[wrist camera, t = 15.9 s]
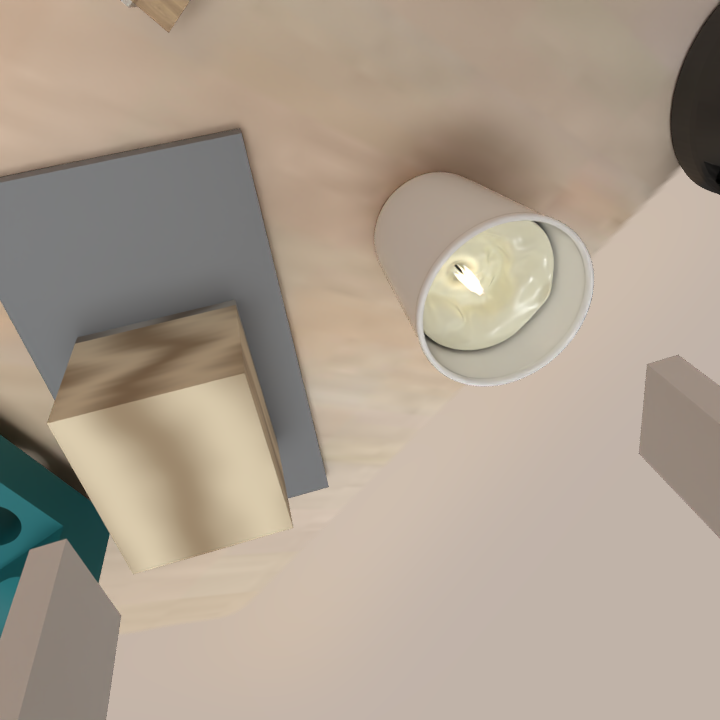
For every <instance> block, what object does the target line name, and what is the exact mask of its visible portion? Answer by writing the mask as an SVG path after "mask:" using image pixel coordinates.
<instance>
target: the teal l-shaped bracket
mask: <svg viewBox="0 0 720 720" xmlns="http://www.w3.org/2000/svg"><path fill="white" fill-rule="evenodd" d="M109 534H110V533H109V531H108V529H107V528H106V526H105V524H104V522H103V521H102V519H101V517H100V515H99V514H98V512H97V510H96V508H95V507H94V505H93V503H92V502H91V501H90V500H88V499H87V498H86V497H84V496H83V495H82V494H80V493H79V492H78V491H76V490H75V489H74V488H72V487H71V486H69V485H68V484H67V483H65V482H64V481H63V480H61V479H60V478H59V477H57V476H56V475H54V474H53V473H52V472H50V471H49V470H48V469H46V468H45V467H44V466H42V465H41V464H40V463H38V462H37V461H35V460H34V459H33V458H31V457H30V456H29V455H27V454H26V453H25V452H23V451H22V450H21V449H19V448H18V447H16V446H15V445H14V444H12V443H11V442H10V441H8V440H7V439H6V438H4V437H3V436H2V435H0V638H1V635H2V632H3V629H4V626H5V623H6V620H7V617H8V614H9V611H10V608H11V604H12V601H13V598H14V595H15V592H16V589H17V586H18V583H19V580H20V577H21V574H22V571H23V568H24V565H25V562H26V559H27V556H28V553H29V550H30V549H34V548H37V547H40V546H44V545H47V544H50V543H54V542H57V541H60V540H64V539H67V540H68V541H69V543H70V544H71V546H72V547H73V549H74V550H75V551H76V553H77V554H78V556H79V557H80V558H81V560H82V561H83V563H84V564H85V565H86V567H87V568H88V570H89V571H90V572H91V574H92V575H93V577H94V578H95V580H96V581H97V582H98V583H99V578H100V574H101V569H102V565H103V561H104V556H105V552H106V547H107V543H108V539H109Z"/></svg>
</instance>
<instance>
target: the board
mask: <svg viewBox="0 0 720 720" xmlns="http://www.w3.org/2000/svg"><path fill="white" fill-rule="evenodd" d="M231 300H235V301H236V305H237V308H238V311H239V315H240V318H241V321H242V325H243V328H244V331H245V335H246V338H247V341H248V345H249V348H250V351H251V355H252V358H253V361H254V365H255V368H256V371H257V375H258V378H259V381H260V385H261V388H262V391H263V395H264V398H265V401H266V405H267V408H268V411H269V415H270V418H271V421H272V425H273V428H274V431H275V435H276V438H277V443H278V448H279V454H280V459H281V464H282V470H283V475H284V481H285V486H286V491H287V497H288V498H291V497H295V496H298V495H302V494H306V493H309V492H313V491H316V490H320V489H323V488H327V487H329V486H328V482H327V478H326V474H325V470H324V466H323V462H322V458H321V453H320V449H319V445H318V441H317V437H316V433H315V429H314V425H313V421H312V417H311V413H310V409H309V405H308V401H307V397H306V393H305V389H304V385H303V381H302V376H301V372H300V368H299V364H298V360H297V356H296V352H295V348H294V344H293V340H292V336H291V332H290V328H289V324H288V320H287V316H286V312H285V308H284V304H283V299H282V295H281V291H280V287H279V283H278V279H277V275H276V271H275V267H274V263H273V259H272V255H271V251H270V247H269V243H268V239H267V235H266V231H265V227H264V222H263V218H262V214H261V210H260V206H259V202H258V198H257V194H256V190H255V186H254V182H253V178H252V174H251V170H250V166H249V162H248V158H247V154H246V150H245V145H244V141H243V137H242V133H241V130H240V128H239V129H234V130H229V131H224V132H219V133H214V134H209V135H205V136H200V137H195V138H190V139H185V140H180V141H175V142H170V143H165V144H160V145H155V146H151V147H146V148H141V149H136V150H131V151H126V152H121V153H116V154H111V155H106V156H102V157H97V158H92V159H87V160H82V161H77V162H72V163H67V164H62V165H57V166H52V167H48V168H43V169H38V170H33V171H28V172H23V173H18V174H13V175H8V176H3V177H0V301H1V302H2V304H3V306H4V308H5V310H6V312H7V313H8V315H9V317H10V319H11V321H12V323H13V324H14V326H15V328H16V330H17V332H18V334H19V335H20V337H21V339H22V341H23V343H24V345H25V346H26V348H27V350H28V352H29V354H30V356H31V357H32V359H33V361H34V363H35V365H36V367H37V369H38V370H39V372H40V374H41V376H42V378H43V380H44V381H45V383H46V385H47V387H48V389H49V391H50V392H51V394H52V396H53V398H54V400H55V399H56V396H57V394H58V391H59V388H60V385H61V382H62V379H63V376H64V374H65V371H66V368H67V365H68V362H69V359H70V357H71V354H72V351H73V348H74V345H75V342H76V339H77V337H81V336H86V335H90V334H94V333H98V332H102V331H106V330H110V329H115V328H119V327H123V326H127V325H131V324H135V323H140V322H144V321H148V320H152V319H156V318H160V317H165V316H169V315H173V314H177V313H181V312H185V311H189V310H194V309H198V308H202V307H206V306H210V305H214V304H219V303H223V302H227V301H231Z"/></svg>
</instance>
